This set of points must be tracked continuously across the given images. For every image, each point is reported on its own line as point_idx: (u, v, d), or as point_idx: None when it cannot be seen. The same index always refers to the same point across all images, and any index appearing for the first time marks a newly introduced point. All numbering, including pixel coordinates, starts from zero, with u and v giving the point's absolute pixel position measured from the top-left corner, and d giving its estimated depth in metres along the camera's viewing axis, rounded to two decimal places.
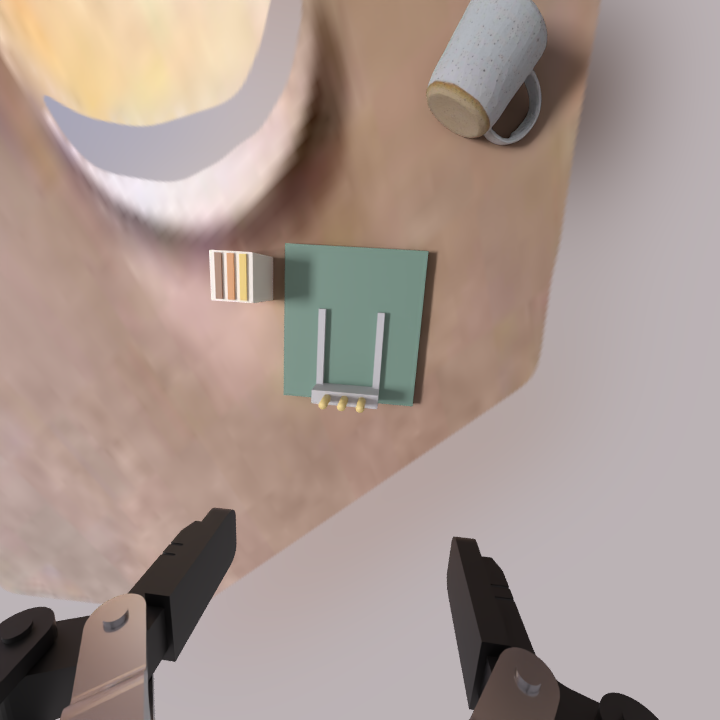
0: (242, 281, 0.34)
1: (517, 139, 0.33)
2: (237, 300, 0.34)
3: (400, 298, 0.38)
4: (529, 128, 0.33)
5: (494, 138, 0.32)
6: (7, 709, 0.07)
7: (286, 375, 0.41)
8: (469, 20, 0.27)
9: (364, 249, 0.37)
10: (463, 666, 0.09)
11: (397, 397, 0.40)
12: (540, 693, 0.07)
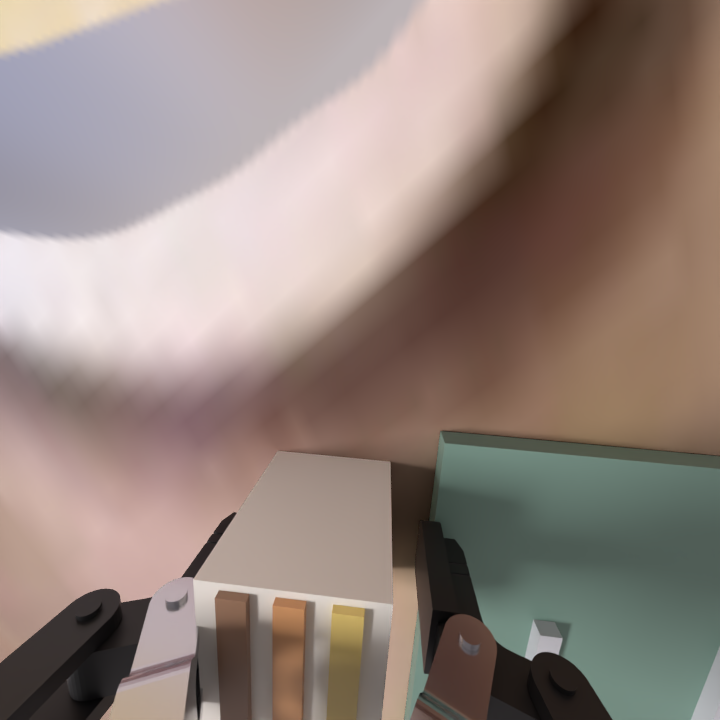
0: (339, 707, 0.08)
1: None
2: None
3: None
4: None
5: None
6: (75, 682, 0.08)
7: None
8: None
9: None
10: (421, 636, 0.10)
11: None
12: (478, 651, 0.08)
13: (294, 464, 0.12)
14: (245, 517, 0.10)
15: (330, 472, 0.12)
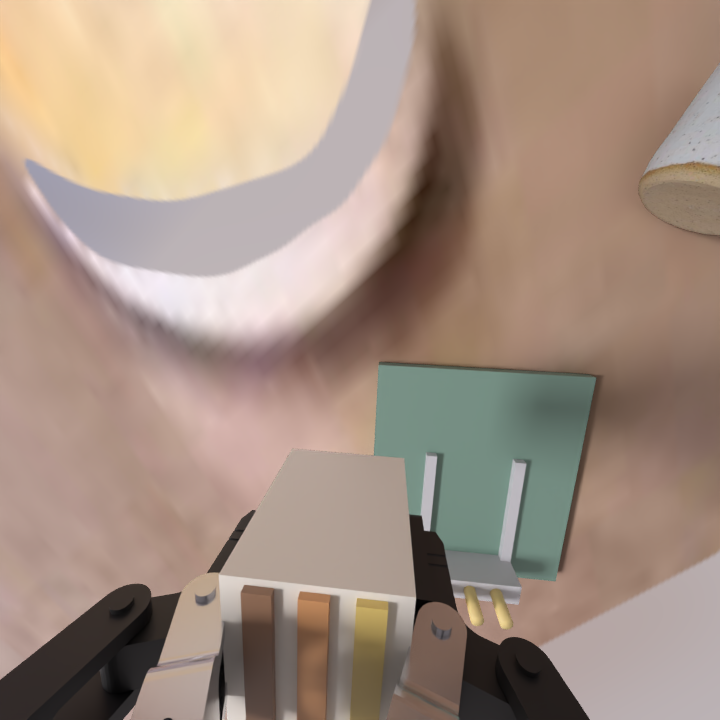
0: (363, 699, 0.08)
1: None
2: None
3: (548, 440, 0.26)
4: None
5: None
6: (107, 674, 0.08)
7: None
8: None
9: (498, 374, 0.25)
10: None
11: (534, 569, 0.28)
12: (449, 636, 0.08)
13: (309, 462, 0.12)
14: (265, 513, 0.10)
15: (345, 469, 0.12)
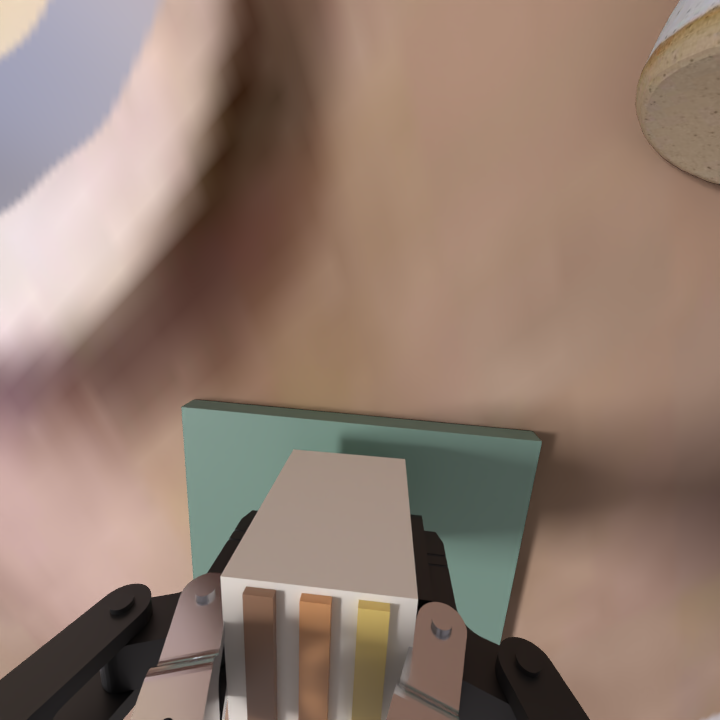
0: (365, 700, 0.08)
1: None
2: None
3: (463, 538, 0.15)
4: None
5: None
6: (107, 674, 0.08)
7: None
8: None
9: (376, 429, 0.15)
10: None
11: None
12: (449, 636, 0.08)
13: (310, 463, 0.12)
14: (266, 515, 0.10)
15: (346, 470, 0.12)
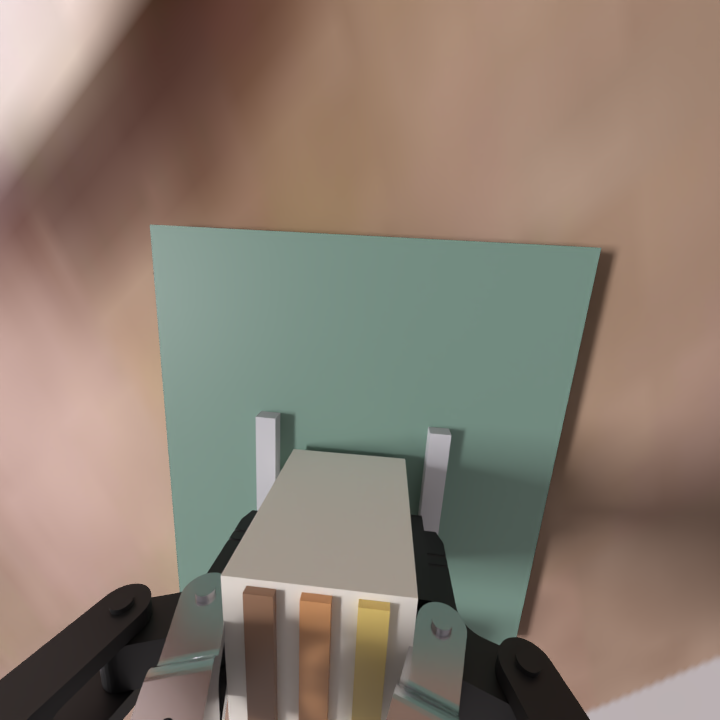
0: (365, 700, 0.08)
1: None
2: None
3: (498, 389, 0.13)
4: None
5: None
6: (107, 674, 0.08)
7: (183, 568, 0.16)
8: None
9: (391, 242, 0.12)
10: None
11: None
12: (449, 636, 0.08)
13: (310, 462, 0.12)
14: (267, 514, 0.10)
15: (346, 470, 0.12)
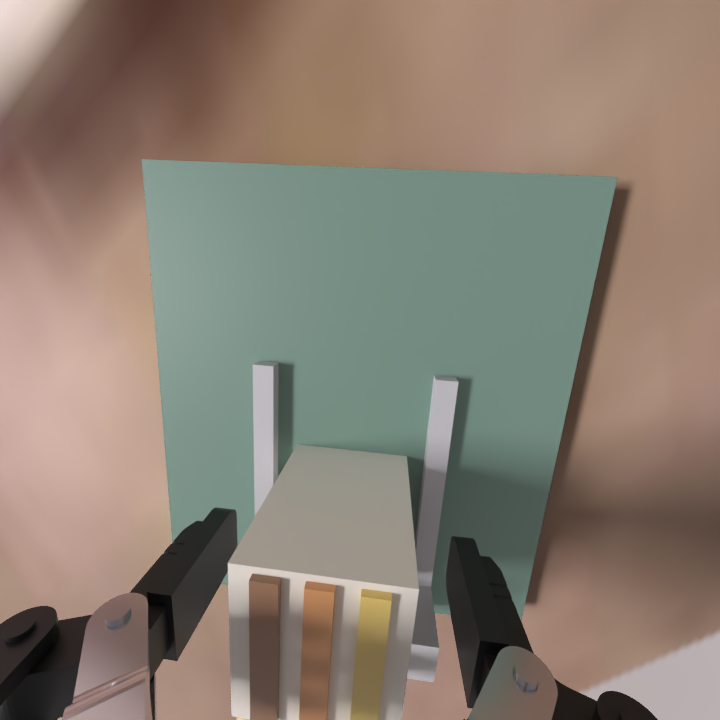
0: (365, 687, 0.08)
1: None
2: None
3: (508, 333, 0.12)
4: None
5: None
6: (10, 708, 0.07)
7: (177, 532, 0.15)
8: None
9: (396, 175, 0.11)
10: (461, 664, 0.09)
11: None
12: (538, 691, 0.07)
13: (314, 457, 0.13)
14: (272, 506, 0.10)
15: (349, 466, 0.12)
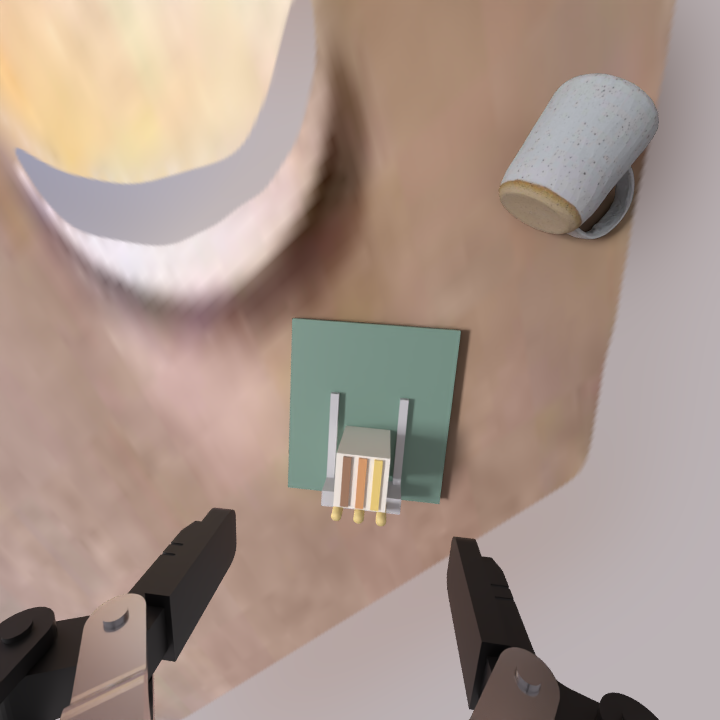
0: (375, 490, 0.28)
1: (603, 234, 0.28)
2: (365, 508, 0.28)
3: (427, 382, 0.32)
4: (617, 222, 0.28)
5: (577, 234, 0.28)
6: (7, 709, 0.07)
7: (291, 465, 0.35)
8: (564, 114, 0.22)
9: (385, 327, 0.31)
10: (463, 666, 0.09)
11: (422, 493, 0.34)
12: (540, 693, 0.07)
13: (353, 430, 0.33)
14: (343, 442, 0.30)
15: (368, 432, 0.32)
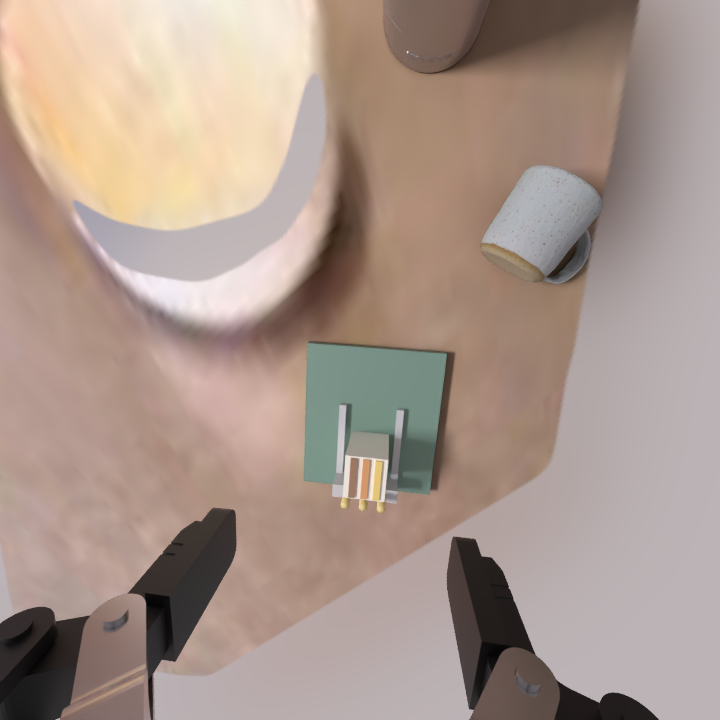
0: (376, 484, 0.35)
1: (566, 280, 0.34)
2: (368, 499, 0.36)
3: (419, 395, 0.39)
4: (578, 269, 0.34)
5: (545, 280, 0.34)
6: (7, 709, 0.07)
7: (306, 463, 0.42)
8: (529, 196, 0.28)
9: (384, 350, 0.38)
10: (463, 666, 0.09)
11: (415, 485, 0.41)
12: (540, 693, 0.07)
13: (358, 434, 0.40)
14: (350, 445, 0.37)
15: (370, 437, 0.39)
